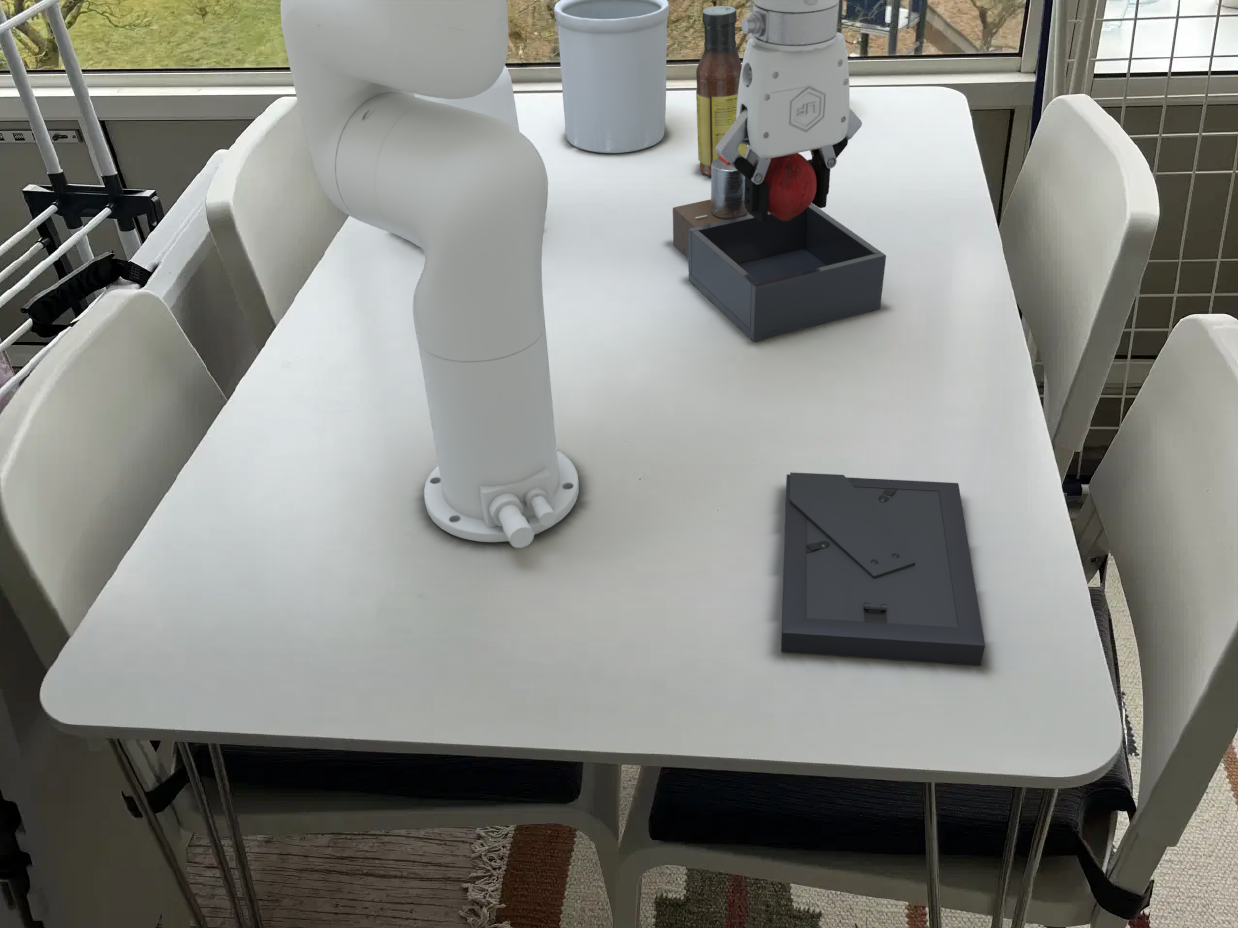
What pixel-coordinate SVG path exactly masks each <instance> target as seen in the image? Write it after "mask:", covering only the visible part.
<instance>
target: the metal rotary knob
mask: <svg viewBox="0 0 1238 928" xmlns="http://www.w3.org/2000/svg"><path fill="white" fill-rule="evenodd" d="M744 193H745V176H744V175H742V174H741V173H740V172H739V171H738V170H737V169H736V168H735V167H733V166H732V165H731V164H730V163H729V162H728V161H727V160H725V159H724V158H723V157H722V156H721V155H720V158H718V159H716V160H714V161H713V162H712V164H711V176H710V199H711V213H712V214H713V215H714V216H716V217H719V218H725V219H733V218H739V217H742V216H744V215H745V214H746V213H747V210H746V208H745V205H744Z"/></svg>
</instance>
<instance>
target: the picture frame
mask: <svg viewBox="0 0 1238 928" xmlns="http://www.w3.org/2000/svg"><path fill="white" fill-rule="evenodd" d="M785 481H786V483H785V498H784V499H785V500H784V501H785V502H784V531H783V532H784V535H783V537H784V538H783V566H782V567H783V568H782V569H783V572H782V602H781V603H782V604H781V606H782V607H781V611H782V612H781V636H780V637H781V638H780V640H781V641H780V642H781V643H780V652H782V653H794V654H808V655H821V656H838V657H851V658H853V657H854V658H868V659H881V660H882V659H883V660H897V661H910V662H923V663H925V662H927V663H939V664H940V663H942V664H955V665H969V666H982V661H983V657H984V652H985V649H986V643H985V637H984V631H983V624H982V619H981V612H980V606H979V600H978V594H977V588H976V582H975V577H974V570H973V564H972V558H971V550H970V546H969V540H968V534H967V528H966V521H965V514H964V510H963V503H962V497H961V491H960V485H959V484H960V483H958V482H945V481H926V480H907V479H905V480H904V479H889V478H887V479H886V478H868V477H867V478H866V477H847V476H845V474H836V473H835V474H834V473H833V474H832V473H812V472H792V471H791V472H790V473H788V474H786V480H785Z"/></svg>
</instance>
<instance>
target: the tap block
mask: <svg viewBox="0 0 1238 928" xmlns="http://www.w3.org/2000/svg"><path fill="white" fill-rule="evenodd" d="M748 215H750V214H749V213H748V212H747V213H746V214H745V215H744V216H748ZM744 216H742V217H744ZM733 219H735V218H733ZM726 220H731V219H725V218H719V217H716V216H714V215H713V214H712V213H711V198H710V199H706V200H705V199H704V200H700V201H696V202H692V203H687V204H683V205H678V206H674V207H672V244H673V245H674V247H676V248H677V249H678V250H679V251H680V252H681V253H682V254H683V255H685V256H686V257H687V259H689V256H688V229H691V228H695V227H700V226H704V225H708V224H713V223H717V222H722V221H726Z"/></svg>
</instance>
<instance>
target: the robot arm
mask: <svg viewBox="0 0 1238 928" xmlns="http://www.w3.org/2000/svg"><path fill="white" fill-rule="evenodd" d="M753 2H754V3H753V5H752V8H751V11H752V12H751V13H752V14H751V15H749V17H744V18H742V20H741V24H740V25H741V31H742V32H743V34H744V35H747V34H751V35H752V38H749V39H747V42H746V46H745V49H744V53H743V58H742V62H741V65H742V68H741V74H740V81H739V88H738V99H737V113H736V120H735V122H734V123H733V124H732V126H731V127H730V128H729V130H728V131H727V132H726V133H725V135H724V136H723V137H722V139H721V140H720V141H719V143H718V144H717V145H716V148H715V150H716V152H717V153H718V154H719V155H721V156H722V157H723V158H724V159H725V160H727V161H728V162H729V163H730V164H731V165H732V166H733V167H735V168H736V169H737V170H738V171H739V172H740V173H741V174H742V175H744V176H745V193H744V205H745V208H746V210H747V212H748V213H749V214H750V215H752V216H753V217H754V218H756V219H757V220H758V221H759V222H763V221H766V219H768V199H769V184H768V183H767V182H766V181H764V177H765V175H766V172H767V169H768V167H769V164H770V161H771V159H772V158H775V157H781V156H786V155H790V154H795V153H799V154H800V153H804V152H810V155H811V158H810V159H806V160H807V161H808V162H809V163H810V164H811V166H812V167H813V169H814V172H815V175H816V185H817V186H816V193H815V197H814V200H813V201H812V202H811V203H812V204H813V205H815V206H816V207H818V208H819V209H823V208H826V207H827V201H828V194H829V192H830V180H831V177H830V176H831V169H833V168H834V167H836V165H837V162H838V161H837V159H838V158H839V156H840V155H841V154H842V152H844V150H845V149H846V148H847V146H848V144H849V140H852V138H853V137H854V136H855V134H856V133H857V132H858V131H859V130H860V129H861V127H862V124H863V123H862V122H863V121H862V120H861V119H860V118H859V116H857V114H856V113H855V112H854V111H853V110H852V109H851V108H850V67H849V58H848V57H849V56H848V49H847V43H846V37H845V35H844V34H843V33H841V32H838V24H839V23H838V22H839V10H840V0H754V1H753ZM280 22H281V30H282V35H283V41H284V46H285V52H286V57H287V61H288V64H289V65H288V66H289V70H290V73H291V78H292V82H293V88H294V92H295V96H296V100H297V105H298V109H299V114H300V118H301V123H302V126H303V130H304V136H305V140H306V144H307V148H308V153H309V156H310V160H311V163H312V167H313V169H314V174H315V175H316V179H317V181H318V183H319V185H320V187H321V189H322V191H323V192H324V194H325V195H326V197H327V198H328V200H329V201H330V202H331V203H332V204H333V206H335V207H336V208H337V209H338V210H339V211H341V212H342V213H343V214H345V215H347V216H348V217H350V218H353V219H355V220H357V221H359V222H362V223H364V224H367V225H369V226H371V227H374V228H377V229H379V230H382V231H385V232H388V233H391V234H394V235H395V236H398V237H400V238H403V239H404V240H407V241H409V242H410V241H412V242H414V243H416V244H418V245H419V246H420V247H419V246H418V245H417V246H418V247H419V248H420V249H421V250H422V251H423V254H424V265H423V269H422V272H421V274H420V276H419V279H418V281H417V284H416V286H415V289H414V292H413V297H412V298H413V299H412V316H413V324H414V331H415V336H416V341H417V346H418V353H419V358H420V365H421V370H422V376H423V382H424V387H425V393H426V394H425V395H426V399H427V406H428V411H429V418H430V423H431V430H432V436H433V442H434V447H435V453H436V459H437V465H436V466H435V467H434V469H433V470H432V471H431V472H430V473H429V475H428V477H427V478H426V481H425V484H424V489H423V497H424V504H425V508H426V512H427V514H428V516H429V517H430V519H431V520H432V522H433V523H434V524H435V525H437V527H439V528H440V529H442V530H443V531H445V532H447V533H449V534H450V535H452V536H455V537H458V538H461V539H463V540H469V541H474V542H478V543H479V542H481V543H503V542H509V544H510V545H511V547H513V548H515V549H523V548H526V547H527V546H529V545H530V544H531V543H532V542H533V540H534V539H535V535H538V534H540V533H542V532H545V531H546V530H548V529H550V528H552V527H553V526H555V525H556V524H558V523H559V522H560V521H562V520H563V519H564V518H565V517H566V516H567V515H568V514H569V513H570V512H571V510H572V509H573V507H574V506H575V504H576V503H577V500H578V496H579V491H580V484H579V483H580V482H579V476H578V475H579V474H578V470H577V469H576V467H575V465H574V463H573V462H572V461H571V460H570V458H568V456H567V455H565V454H564V453H562V452H561V451H560V450H558V448H557V440H556V438H557V437H556V428H555V418H554V417H555V416H554V407H553V396H552V395H553V394H552V384H551V382H552V381H551V373H550V361H549V349H548V340H547V327H546V317H545V307H544V294H543V293H544V291H543V272H542V271H543V270H542V269H543V266H542V265H543V264H542V263H543V262H542V258H543V242H544V231H545V223H546V218H547V217H546V215H547V208H548V199H549V180H548V174H547V169H546V166H545V162H544V160H543V158H542V155H541V154H540V152H539V150H538V149H537V147H536V146H535V145H534V143H532V141H531V140H530V139H529V138H528V137H527V136H526V135H525V134H524V133H522V132H521V131H520V130H519V131H520V132H519V131H518V130H517V129H515V128H513V127H512V126H510V125H508V124H506V123H504V122H502V121H500V120H498V119H495V118H493V117H490V116H487V115H484V114H480V113H477V112H474V111H470V110H466V109H462V108H458V107H455V106H451V105H447V104H443V103H438V102H433V101H429V100H425V99H422V98H418V97H415V95H414V93H415V94H419V95H424V96H429V97H435V98H444V99H462V98H469V97H473V96H476V95H478V94H480V93H482V92H484V91H486V90H488V89H489V88H490V87H492V86H493V84H494V83H495V82H496V81H497V79H498V78H499V76H500V75H501V73H502V71H503V69H504V66H506V62H507V59H508V54H509V35H510V34H509V31H510V29H509V11H508V1H507V0H280ZM740 143H741V144H744V145H747V150H746V153H745V156H744V157H743V156H742V155H741V154H740V153H738V151H737V148H738V146H739V144H740ZM412 242H411V243H412ZM414 243H413V244H414ZM416 244H415V245H416Z"/></svg>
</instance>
